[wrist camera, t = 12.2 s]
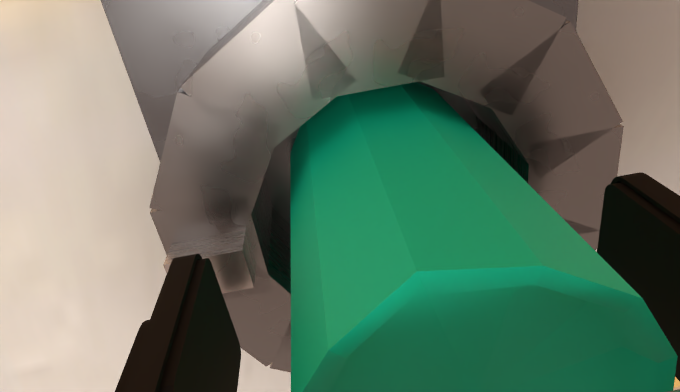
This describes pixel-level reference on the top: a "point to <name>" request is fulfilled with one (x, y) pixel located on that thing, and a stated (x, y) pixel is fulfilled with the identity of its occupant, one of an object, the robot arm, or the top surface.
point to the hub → (321, 88)
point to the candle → (446, 266)
